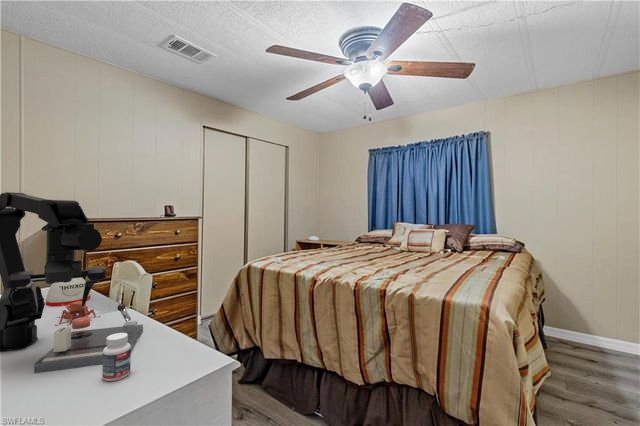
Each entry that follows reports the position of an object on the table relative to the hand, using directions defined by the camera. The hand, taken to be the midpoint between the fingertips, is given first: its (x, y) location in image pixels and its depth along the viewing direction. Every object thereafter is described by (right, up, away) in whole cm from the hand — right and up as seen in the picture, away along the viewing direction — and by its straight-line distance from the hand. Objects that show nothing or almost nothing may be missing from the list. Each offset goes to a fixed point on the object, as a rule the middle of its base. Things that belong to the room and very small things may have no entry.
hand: (60, 309), depth 79 cm
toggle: (+11, -7, +11) cm, 17 cm away
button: (0, -7, +7) cm, 10 cm away
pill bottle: (+21, -12, -10) cm, 26 cm away
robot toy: (-17, -12, +27) cm, 34 cm away
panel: (+7, -12, +3) cm, 14 cm away
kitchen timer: (-35, -11, +46) cm, 59 cm away
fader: (+3, -9, -3) cm, 10 cm away
